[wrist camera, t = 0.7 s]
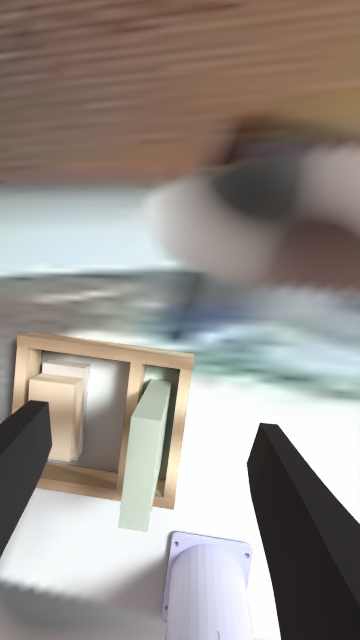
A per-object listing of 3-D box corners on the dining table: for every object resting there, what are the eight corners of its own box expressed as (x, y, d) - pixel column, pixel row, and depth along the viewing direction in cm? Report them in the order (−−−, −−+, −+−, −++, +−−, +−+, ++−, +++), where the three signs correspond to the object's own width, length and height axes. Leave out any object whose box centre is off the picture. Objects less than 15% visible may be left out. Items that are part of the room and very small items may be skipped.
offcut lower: (84, 449, 30) (76, 460, 28) (46, 444, 31) (35, 454, 29) (92, 363, 30) (84, 368, 28) (53, 358, 30) (42, 362, 28)
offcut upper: (78, 449, 28) (69, 461, 26) (37, 444, 29) (25, 456, 27) (83, 378, 28) (74, 384, 26) (41, 373, 28) (29, 379, 26)
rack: (175, 491, 30) (173, 509, 27) (21, 467, 30) (5, 482, 28) (194, 353, 28) (193, 359, 26) (32, 331, 29) (17, 335, 27)
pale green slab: (161, 460, 30) (146, 532, 21) (141, 456, 30) (118, 527, 21) (171, 381, 29) (160, 421, 20) (151, 378, 29) (131, 416, 20)
